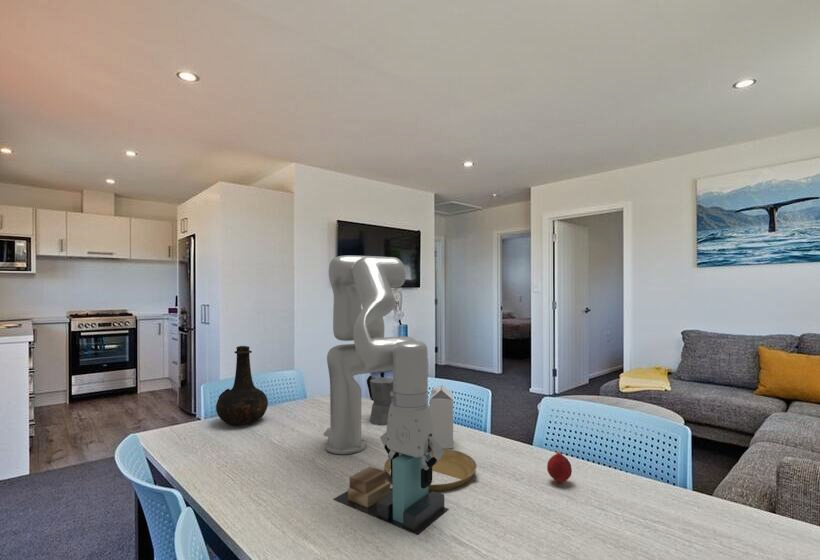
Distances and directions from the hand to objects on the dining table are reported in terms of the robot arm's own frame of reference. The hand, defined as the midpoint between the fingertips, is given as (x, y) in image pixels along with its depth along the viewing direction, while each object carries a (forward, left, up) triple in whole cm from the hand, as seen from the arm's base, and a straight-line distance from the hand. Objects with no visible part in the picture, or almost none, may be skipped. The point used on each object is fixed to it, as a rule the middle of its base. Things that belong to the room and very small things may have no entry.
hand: (411, 480), depth 93 cm
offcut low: (-12, 0, -7) cm, 14 cm away
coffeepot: (-48, +47, -8) cm, 67 cm away
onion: (+21, +35, -8) cm, 41 cm away
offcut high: (-13, 0, -4) cm, 13 cm away
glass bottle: (-88, +16, -8) cm, 90 cm away
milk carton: (-17, +40, -8) cm, 44 cm away
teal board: (0, 0, -7) cm, 7 cm away
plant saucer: (-8, +20, -8) cm, 23 cm away
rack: (-6, 0, -8) cm, 10 cm away
